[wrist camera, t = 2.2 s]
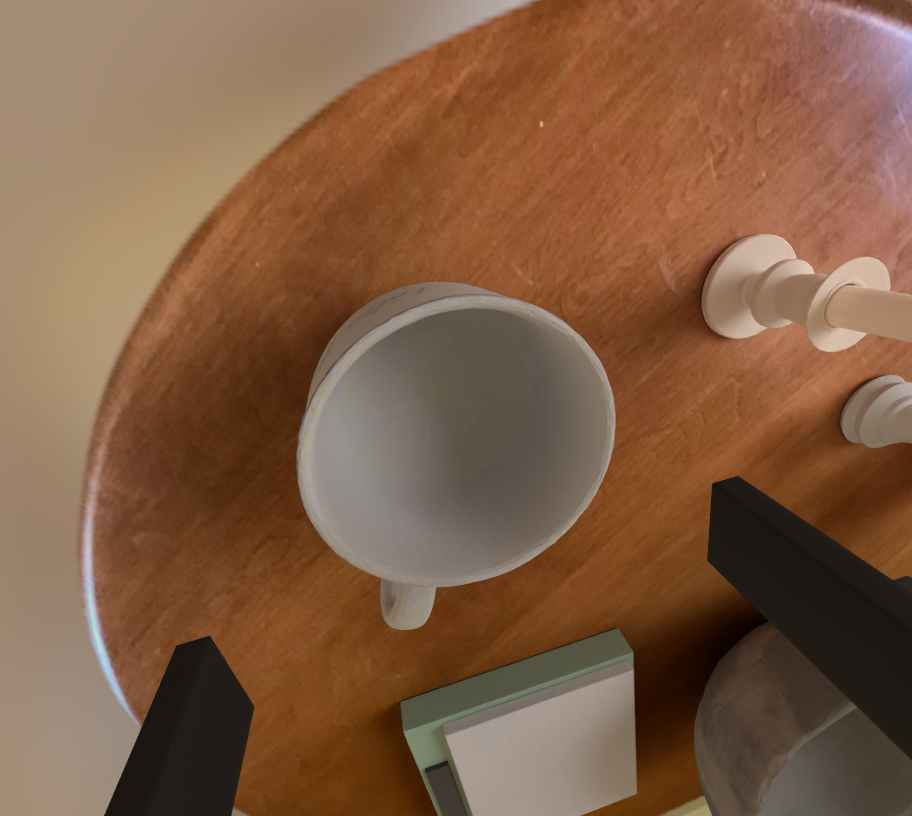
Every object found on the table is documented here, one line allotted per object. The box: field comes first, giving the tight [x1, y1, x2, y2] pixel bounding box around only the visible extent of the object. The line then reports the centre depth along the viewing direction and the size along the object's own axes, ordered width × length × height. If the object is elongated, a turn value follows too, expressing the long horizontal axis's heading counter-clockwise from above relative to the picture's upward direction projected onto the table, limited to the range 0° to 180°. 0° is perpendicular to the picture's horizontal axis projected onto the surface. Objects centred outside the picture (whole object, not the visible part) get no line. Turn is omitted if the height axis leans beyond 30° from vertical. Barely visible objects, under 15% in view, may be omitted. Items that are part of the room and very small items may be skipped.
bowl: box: [694, 621, 912, 816], centre depth 32 cm, size 20×20×10 cm
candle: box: [702, 234, 912, 352], centre depth 18 cm, size 5×5×10 cm
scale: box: [400, 628, 637, 816], centre depth 33 cm, size 16×17×3 cm
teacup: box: [296, 282, 615, 630], centre depth 18 cm, size 14×11×8 cm
